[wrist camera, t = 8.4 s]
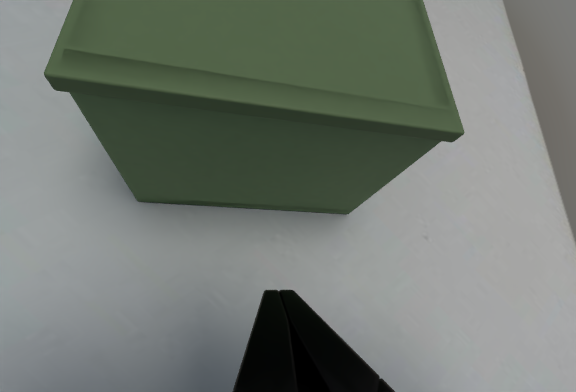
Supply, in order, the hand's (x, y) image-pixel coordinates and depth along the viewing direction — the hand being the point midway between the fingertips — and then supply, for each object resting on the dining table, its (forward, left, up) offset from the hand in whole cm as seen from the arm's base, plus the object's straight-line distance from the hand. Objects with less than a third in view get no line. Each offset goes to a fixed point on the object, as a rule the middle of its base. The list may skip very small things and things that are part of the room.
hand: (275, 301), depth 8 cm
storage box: (+11, +8, -7) cm, 15 cm away
